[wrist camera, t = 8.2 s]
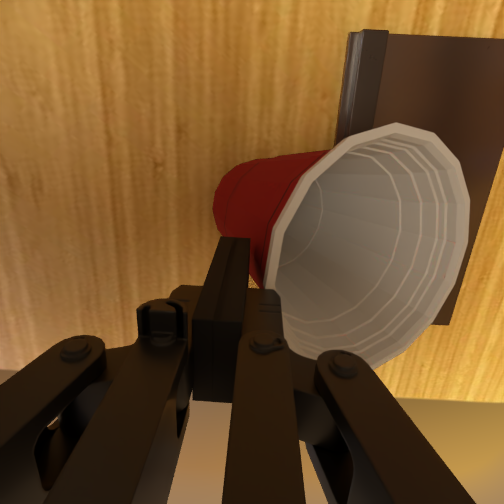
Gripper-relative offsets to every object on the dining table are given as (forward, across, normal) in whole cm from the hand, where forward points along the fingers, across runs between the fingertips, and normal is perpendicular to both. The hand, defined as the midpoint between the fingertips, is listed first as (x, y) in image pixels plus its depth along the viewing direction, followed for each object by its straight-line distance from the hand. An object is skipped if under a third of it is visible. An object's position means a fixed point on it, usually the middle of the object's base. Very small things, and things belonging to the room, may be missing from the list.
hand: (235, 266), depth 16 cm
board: (+11, +11, +1) cm, 16 cm away
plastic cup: (+10, 0, +1) cm, 10 cm away
